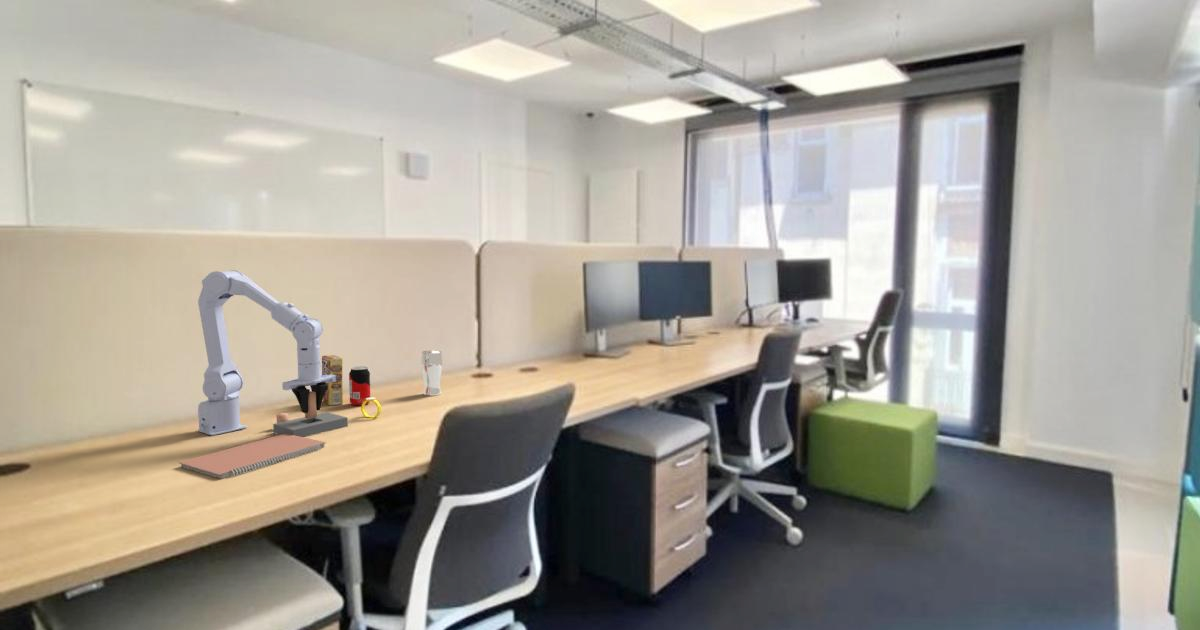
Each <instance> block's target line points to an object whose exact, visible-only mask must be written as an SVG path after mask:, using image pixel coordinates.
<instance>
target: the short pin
mask: <svg viewBox="0 0 1200 630" xmlns="http://www.w3.org/2000/svg"><path fill="white" fill-rule="evenodd" d="M289 417H290V416H289V412H281V413H276V423H280V422H285V421H289V420H290V419H289Z"/></svg>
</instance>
